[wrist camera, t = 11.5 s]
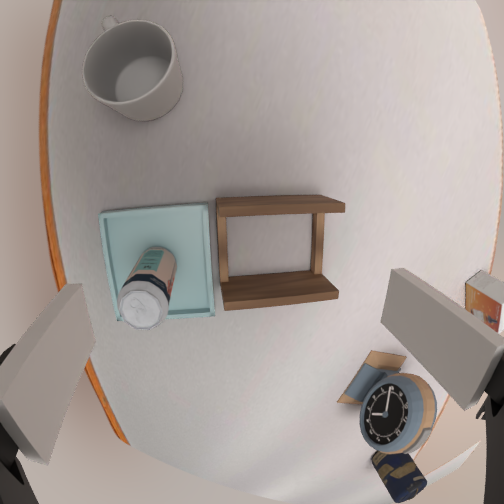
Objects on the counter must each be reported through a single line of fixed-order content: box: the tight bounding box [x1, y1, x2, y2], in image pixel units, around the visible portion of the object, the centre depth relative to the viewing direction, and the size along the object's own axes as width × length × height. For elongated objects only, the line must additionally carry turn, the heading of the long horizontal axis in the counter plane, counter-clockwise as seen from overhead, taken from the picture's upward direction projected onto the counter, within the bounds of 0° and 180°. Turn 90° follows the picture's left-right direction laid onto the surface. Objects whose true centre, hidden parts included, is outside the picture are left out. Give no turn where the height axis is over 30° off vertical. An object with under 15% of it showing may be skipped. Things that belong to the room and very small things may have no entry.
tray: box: [98, 203, 215, 321], centre depth 35 cm, size 14×13×2 cm
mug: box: [82, 16, 183, 121], centre depth 24 cm, size 12×8×11 cm
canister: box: [372, 451, 427, 503], centre depth 52 cm, size 10×10×18 cm
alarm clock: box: [337, 350, 437, 454], centre depth 40 cm, size 14×10×18 cm
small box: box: [465, 270, 504, 334], centre depth 43 cm, size 8×6×10 cm
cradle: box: [216, 195, 345, 311], centre depth 34 cm, size 11×13×7 cm
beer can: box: [117, 247, 177, 330], centre depth 30 cm, size 5×5×12 cm
